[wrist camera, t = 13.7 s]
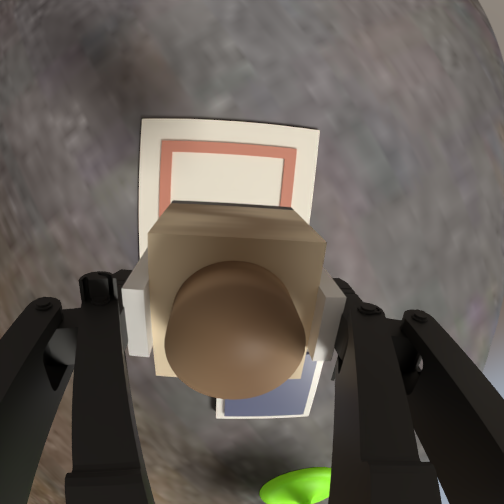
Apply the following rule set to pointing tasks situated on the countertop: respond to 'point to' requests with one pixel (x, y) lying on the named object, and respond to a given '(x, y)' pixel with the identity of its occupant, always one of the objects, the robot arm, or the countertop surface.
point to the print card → (223, 166)
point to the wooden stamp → (232, 295)
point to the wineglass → (298, 487)
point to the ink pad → (277, 398)
